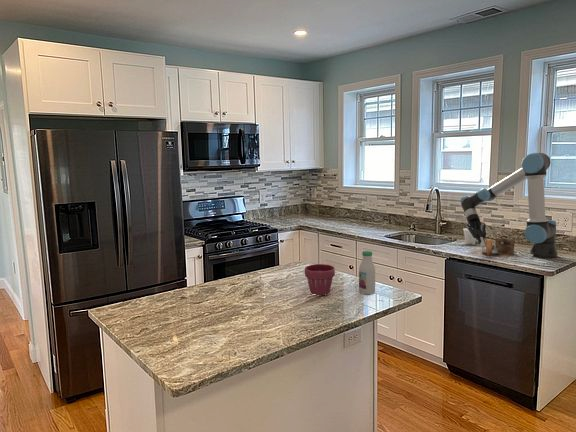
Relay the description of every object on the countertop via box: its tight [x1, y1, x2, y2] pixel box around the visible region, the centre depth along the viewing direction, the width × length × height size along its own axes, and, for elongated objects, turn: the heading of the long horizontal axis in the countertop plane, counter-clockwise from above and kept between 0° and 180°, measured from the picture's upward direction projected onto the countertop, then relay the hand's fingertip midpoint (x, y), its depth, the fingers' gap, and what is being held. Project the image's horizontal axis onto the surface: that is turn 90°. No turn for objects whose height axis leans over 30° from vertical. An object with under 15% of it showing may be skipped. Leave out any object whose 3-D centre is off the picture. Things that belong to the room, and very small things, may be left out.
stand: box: [467, 237, 515, 259], centre depth 283 cm, size 24×17×10 cm
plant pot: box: [304, 263, 336, 295], centre depth 211 cm, size 14×14×13 cm
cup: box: [462, 227, 476, 245], centre depth 316 cm, size 10×10×11 cm
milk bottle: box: [358, 250, 376, 295], centre depth 211 cm, size 8×8×20 cm
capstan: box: [481, 238, 499, 257], centre depth 281 cm, size 11×12×10 cm
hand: (483, 246), depth 279 cm, fingers closed
